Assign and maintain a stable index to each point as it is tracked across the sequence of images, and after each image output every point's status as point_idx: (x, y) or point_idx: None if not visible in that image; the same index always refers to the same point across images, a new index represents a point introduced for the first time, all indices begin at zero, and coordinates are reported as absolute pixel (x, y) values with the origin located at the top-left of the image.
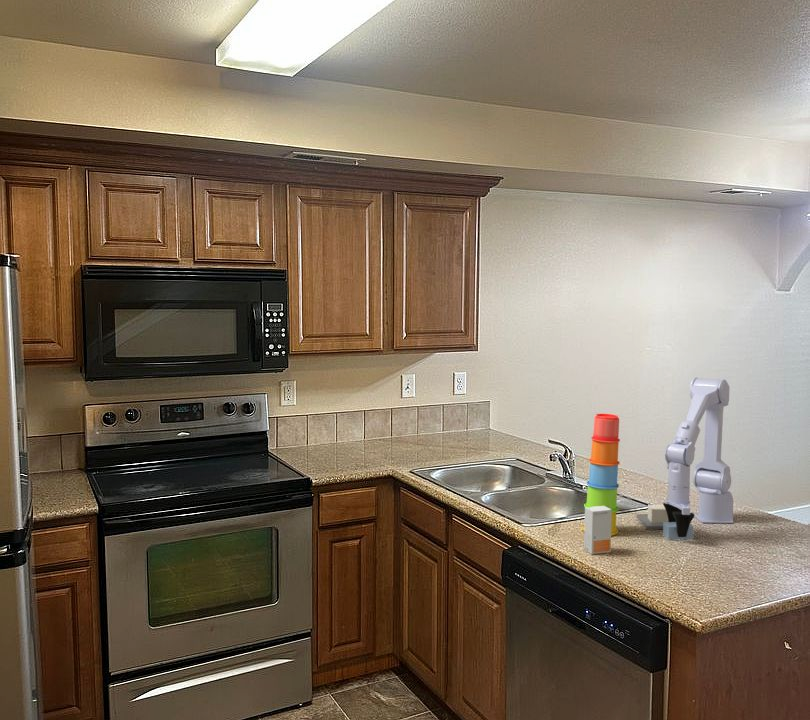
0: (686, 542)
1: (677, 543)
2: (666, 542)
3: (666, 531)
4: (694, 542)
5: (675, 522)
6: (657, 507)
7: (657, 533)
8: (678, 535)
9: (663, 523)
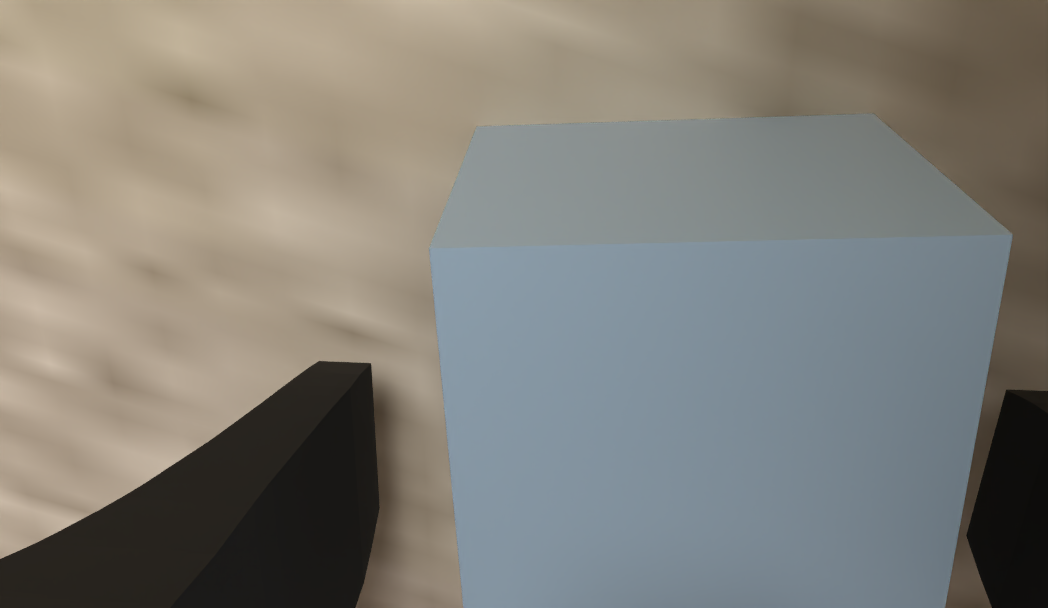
0: None
1: (262, 254)
2: (308, 26)
3: (625, 173)
4: None
5: (901, 584)
6: None
7: (1032, 12)
8: (305, 372)
9: (958, 223)
